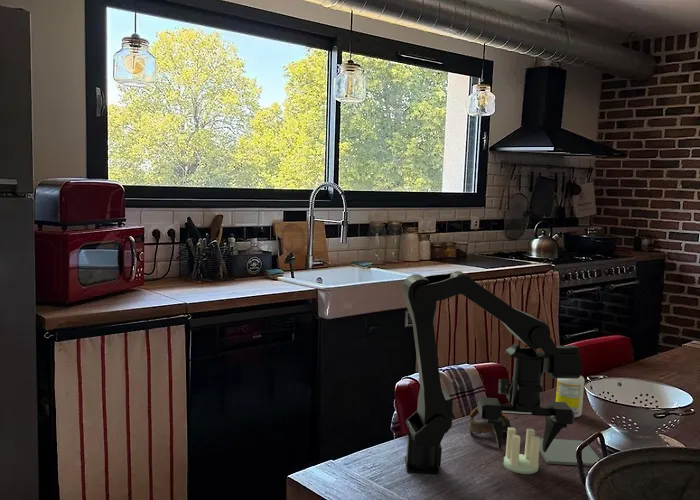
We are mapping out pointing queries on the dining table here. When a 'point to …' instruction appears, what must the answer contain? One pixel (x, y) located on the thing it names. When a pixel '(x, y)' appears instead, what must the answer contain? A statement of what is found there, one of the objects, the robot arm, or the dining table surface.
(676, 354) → the dining table surface
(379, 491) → the dining table surface
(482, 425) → the brown curved piece
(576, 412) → the supplement bottle
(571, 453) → the mat
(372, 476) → the dining table surface
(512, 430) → the stool
